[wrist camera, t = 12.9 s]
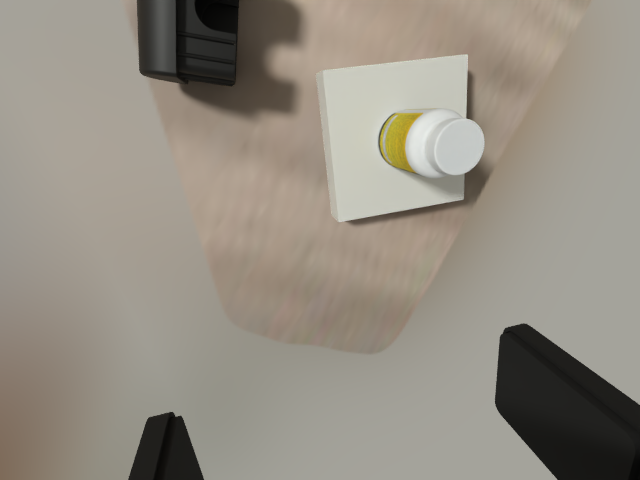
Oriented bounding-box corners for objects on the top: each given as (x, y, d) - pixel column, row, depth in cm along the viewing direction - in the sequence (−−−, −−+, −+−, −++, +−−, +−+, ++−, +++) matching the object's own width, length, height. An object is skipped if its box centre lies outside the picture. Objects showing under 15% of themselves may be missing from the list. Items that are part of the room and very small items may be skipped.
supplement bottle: (381, 174, 35) (431, 194, 25) (369, 119, 33) (419, 119, 23) (431, 158, 35) (496, 172, 26) (422, 102, 33) (490, 96, 24)
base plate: (315, 74, 33) (322, 70, 30) (450, 59, 35) (467, 54, 32) (331, 214, 38) (338, 222, 35) (448, 193, 40) (463, 199, 37)
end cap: (148, -58, 27) (121, -109, 21) (240, -37, 29) (240, -79, 23) (151, 80, 31) (129, 70, 24) (235, 91, 32) (233, 85, 26)
